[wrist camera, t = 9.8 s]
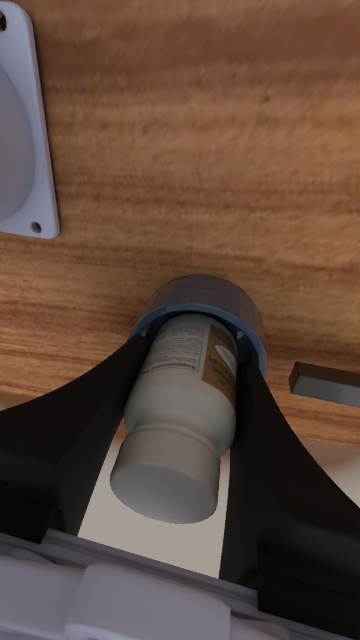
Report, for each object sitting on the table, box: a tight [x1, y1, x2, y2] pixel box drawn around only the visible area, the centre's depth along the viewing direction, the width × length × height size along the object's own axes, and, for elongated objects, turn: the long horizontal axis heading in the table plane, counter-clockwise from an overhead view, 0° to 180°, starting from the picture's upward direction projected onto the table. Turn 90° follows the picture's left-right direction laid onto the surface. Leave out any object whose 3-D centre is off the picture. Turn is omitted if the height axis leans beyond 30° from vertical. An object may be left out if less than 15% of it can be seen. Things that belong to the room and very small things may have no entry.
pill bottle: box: [110, 314, 237, 524], centre depth 12 cm, size 4×4×8 cm
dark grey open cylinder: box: [127, 275, 267, 379], centre depth 14 cm, size 6×6×3 cm
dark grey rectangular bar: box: [288, 362, 360, 407], centre depth 13 cm, size 5×1×1 cm, turn 85°
